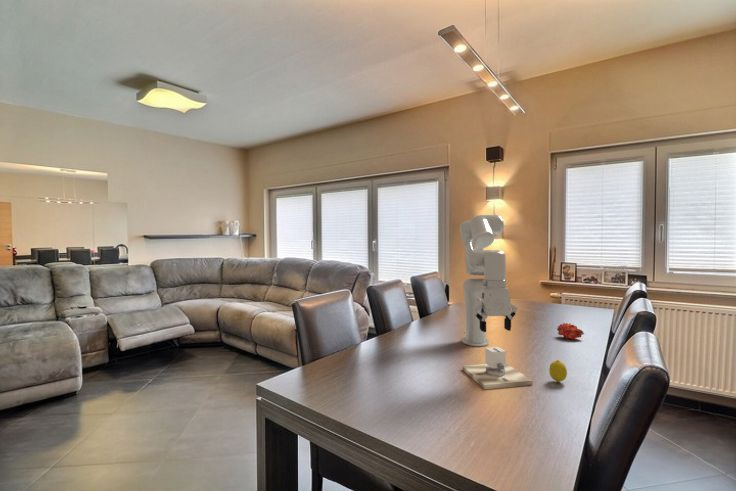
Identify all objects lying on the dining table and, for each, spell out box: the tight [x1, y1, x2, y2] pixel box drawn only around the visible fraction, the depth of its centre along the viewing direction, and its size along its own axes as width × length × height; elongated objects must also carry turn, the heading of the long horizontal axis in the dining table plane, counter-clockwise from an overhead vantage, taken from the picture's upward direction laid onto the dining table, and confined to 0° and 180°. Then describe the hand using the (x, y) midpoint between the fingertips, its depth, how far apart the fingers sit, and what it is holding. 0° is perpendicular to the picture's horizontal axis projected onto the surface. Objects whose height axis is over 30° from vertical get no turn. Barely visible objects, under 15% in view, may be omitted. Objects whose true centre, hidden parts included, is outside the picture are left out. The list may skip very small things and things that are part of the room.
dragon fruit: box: [556, 322, 585, 341], centre depth 176 cm, size 8×8×12 cm
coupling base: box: [461, 363, 534, 390], centre depth 130 cm, size 18×18×4 cm
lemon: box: [548, 359, 568, 384], centre depth 125 cm, size 6×6×8 cm
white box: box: [484, 346, 507, 370], centre depth 129 cm, size 7×5×6 cm
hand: (495, 330), depth 130 cm, fingers open, 9 cm apart
